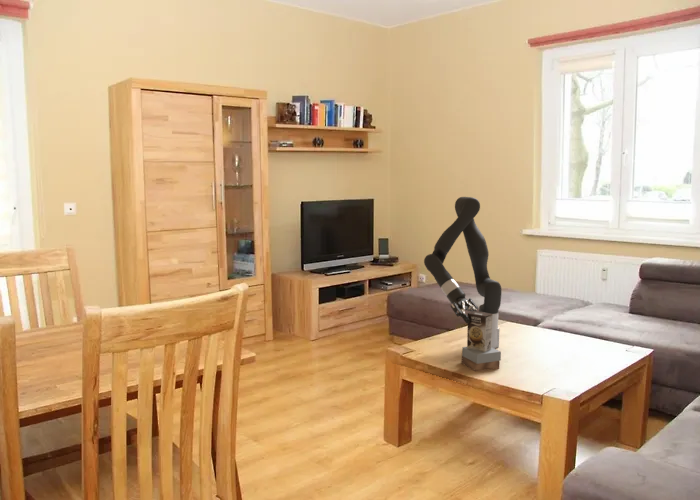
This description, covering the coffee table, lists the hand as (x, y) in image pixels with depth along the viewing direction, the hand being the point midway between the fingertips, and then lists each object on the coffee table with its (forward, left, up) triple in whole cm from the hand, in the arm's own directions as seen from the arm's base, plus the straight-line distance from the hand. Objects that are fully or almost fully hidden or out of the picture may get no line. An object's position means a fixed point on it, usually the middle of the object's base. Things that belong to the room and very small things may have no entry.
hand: (474, 320), depth 273 cm
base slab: (-2, +2, -21) cm, 21 cm away
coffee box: (-2, +1, -13) cm, 13 cm away
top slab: (-3, +2, -17) cm, 17 cm away
